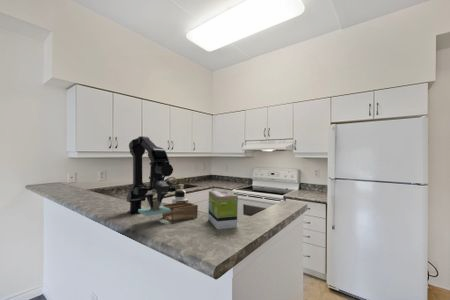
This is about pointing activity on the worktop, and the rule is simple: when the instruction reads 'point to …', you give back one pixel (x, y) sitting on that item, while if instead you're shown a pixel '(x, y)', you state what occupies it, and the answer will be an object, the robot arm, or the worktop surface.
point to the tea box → (223, 209)
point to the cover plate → (151, 212)
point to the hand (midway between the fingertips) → (154, 207)
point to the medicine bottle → (179, 196)
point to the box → (181, 211)
